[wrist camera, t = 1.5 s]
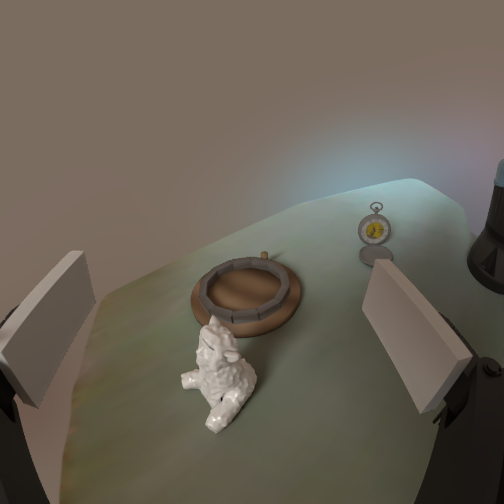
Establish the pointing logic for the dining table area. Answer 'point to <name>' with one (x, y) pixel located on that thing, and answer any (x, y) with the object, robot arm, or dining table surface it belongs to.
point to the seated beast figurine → (220, 374)
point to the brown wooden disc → (247, 296)
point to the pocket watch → (373, 248)
